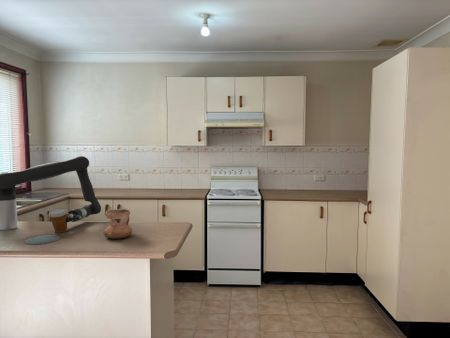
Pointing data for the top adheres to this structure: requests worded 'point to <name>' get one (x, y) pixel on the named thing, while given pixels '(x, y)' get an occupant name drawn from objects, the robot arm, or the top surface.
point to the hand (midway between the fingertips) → (59, 220)
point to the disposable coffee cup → (59, 219)
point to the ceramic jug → (118, 224)
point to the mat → (42, 239)
